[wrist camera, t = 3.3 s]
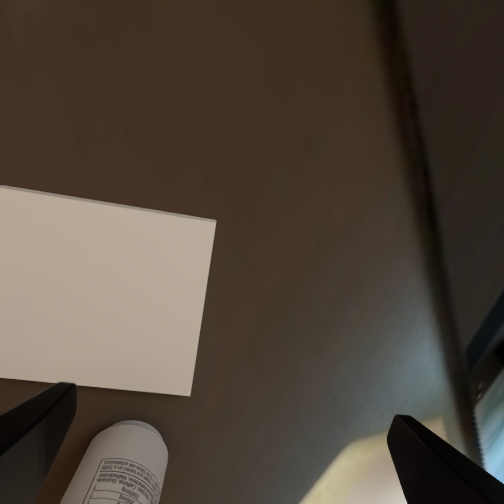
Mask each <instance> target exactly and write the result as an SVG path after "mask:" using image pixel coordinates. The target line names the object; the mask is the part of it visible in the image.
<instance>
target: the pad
mask: <svg viewBox="0 0 504 504" xmlns="http://www.w3.org/2000/svg"><path fill="white" fill-rule="evenodd" d="M216 221H217V220H213V219H207V218H200V217H194V216H188V215H182V214H176V213H170V212H164V211H158V210H152V209H145V208H139V207H133V206H127V205H121V204H115V203H109V202H103V201H96V200H90V199H84V198H78V197H72V196H66V195H60V194H54V193H48V192H41V191H35V190H29V189H23V188H17V187H11V186H5V185H3V186H0V378H10V379H20V380H30V381H40V382H51V383H58V382H72V383H75V384H76V385H81V386H92V387H102V388H112V389H122V390H133V391H143V392H153V393H163V394H173V395H184V396H190V394H191V388H192V382H193V375H194V368H195V361H196V355H197V348H198V341H199V335H200V328H201V321H202V315H203V308H204V301H205V294H206V288H207V281H208V274H209V268H210V261H211V254H212V248H213V241H214V234H215V227H216Z"/></svg>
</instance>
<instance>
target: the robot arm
mask: <svg viewBox="0 0 504 504" xmlns="http://www.w3.org/2000/svg"><path fill="white" fill-rule="evenodd" d="M496 356H497V357H498V359H499V360H500V362H501V363H502V365H503V366H504V345H503V346H501V347H500V348H498V349H497V351H496ZM76 408H77V385H76V384H75V383H72V382H58V383H56V384H54V385H53V386H51V387H49V388H47V389H46V390H44V391H42V392H40V393H39V394H37V395H35V396H33V397H32V398H30V399H28V400H26V401H25V402H23V403H21V404H20V405H18V406H16V407H14V408H13V409H11V410H9V411H7V412H6V413H4V414H2V415H0V504H32V503H33V501H34V499H35V498H36V496H37V494H38V492H39V491H40V489H41V487H42V485H43V483H44V481H45V479H46V477H47V475H48V473H49V471H50V469H51V467H52V465H53V462H54V460H55V458H56V456H57V454H58V452H59V450H60V447H61V445H62V443H63V441H64V439H65V437H66V434H67V432H68V430H69V428H70V426H71V424H72V421H73V419H74V417H75V413H76ZM387 444H388V448H389V451H390V454H391V457H392V460H393V463H394V466H395V469H396V472H397V475H398V478H399V481H400V484H401V487H402V490H403V493H404V495H405V498H406V501H407V504H504V484H503V483H502V482H500V481H499V480H497V479H496V478H495V477H493V476H492V475H491V474H489V473H488V472H487V471H485V470H484V469H482V468H481V467H480V466H478V465H477V464H476V463H474V462H473V461H471V460H470V459H469V458H467V457H466V456H465V455H463V454H462V453H461V452H459V451H458V450H456V449H455V448H454V447H452V446H451V445H450V444H448V443H447V442H446V441H444V440H443V439H441V438H440V437H439V436H437V435H436V434H435V433H433V432H432V431H431V430H429V429H428V428H426V427H425V426H424V425H422V424H421V423H420V422H418V421H417V420H416V419H414V418H413V417H411V416H409V415H400V414H398V415H396V416H395V417H394V418H393V421H392V424H391V427H390V430H389V432H388V435H387Z"/></svg>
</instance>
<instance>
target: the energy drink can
mask: <svg viewBox="0 0 504 504" xmlns="http://www.w3.org/2000/svg"><path fill="white" fill-rule="evenodd" d="M167 462H168V451H167V447H166V445H165V443H164V442H163V439H162V437H161V435H160V433H159V432H158V431H157V430H156V429H155V428H154V427H152V426H151V425H149V424H147V423H144V422H141V421H136V420H127V421H121V422H118V423H115V424H113V425H111V426H110V427H109V428H107V429H105V430H103V431H101V432H100V433H99V434H97V435H96V436H95V437H94V439H93V440H92V441H91V443H90V445H89V447H88V449H87V451H86V453H85V455H84V457H83V459H82V461H81V463H80V465H79V467H78V469H77V471H76V473H75V475H74V477H73V479H72V480H71V482H70V484H69V486H68V488H67V490H66V492H65V494H64V496H63V498H62V500H61V502H60V504H159V499H160V494H161V490H162V485H163V480H164V476H165V471H166V466H167Z"/></svg>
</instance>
